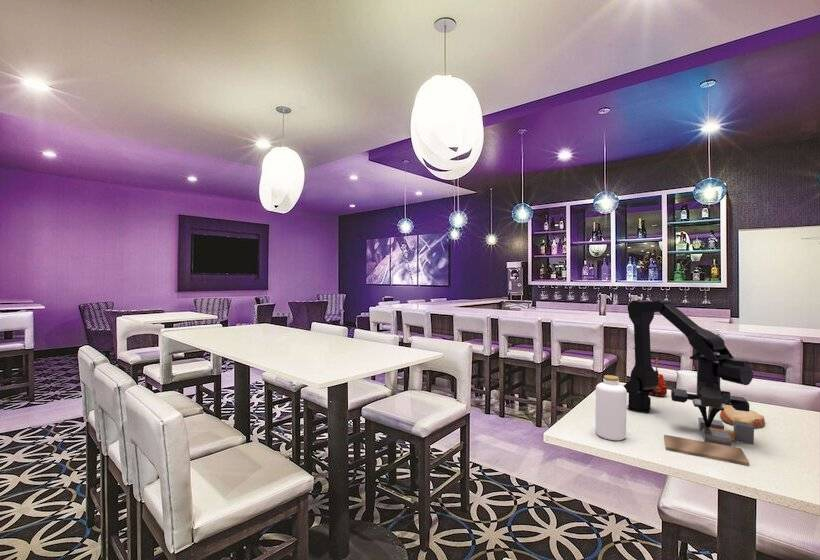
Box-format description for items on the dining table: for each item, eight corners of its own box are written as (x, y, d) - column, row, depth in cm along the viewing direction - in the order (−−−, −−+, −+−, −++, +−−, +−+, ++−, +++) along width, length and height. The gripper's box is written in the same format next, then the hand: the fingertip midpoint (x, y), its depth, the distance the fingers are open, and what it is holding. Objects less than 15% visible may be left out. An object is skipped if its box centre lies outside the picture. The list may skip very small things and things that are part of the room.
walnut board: (665, 449, 110) (665, 446, 110) (664, 437, 119) (664, 434, 119) (749, 466, 101) (749, 463, 101) (741, 451, 110) (741, 448, 110)
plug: (710, 437, 119) (710, 420, 119) (708, 432, 123) (709, 416, 123) (753, 444, 114) (754, 427, 114) (750, 439, 117) (751, 423, 117)
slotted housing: (704, 442, 115) (704, 434, 115) (698, 424, 129) (698, 417, 129) (730, 447, 112) (731, 438, 112) (721, 428, 126) (721, 420, 126)
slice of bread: (735, 409, 146) (735, 399, 146) (788, 427, 128) (789, 416, 128) (692, 411, 143) (692, 401, 143) (741, 430, 125) (741, 419, 125)
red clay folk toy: (643, 395, 161) (644, 358, 161) (647, 391, 166) (647, 355, 166) (665, 398, 156) (666, 361, 156) (668, 394, 161) (669, 358, 161)
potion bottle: (614, 443, 114) (615, 381, 114) (589, 433, 121) (590, 375, 121) (632, 438, 118) (633, 378, 118) (607, 428, 125) (607, 372, 125)
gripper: (673, 378, 119) (672, 429, 119) (754, 387, 109) (753, 443, 109) (671, 370, 128) (670, 418, 129) (745, 378, 119) (744, 430, 119)
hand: (707, 427), depth 121 cm, fingers closed
